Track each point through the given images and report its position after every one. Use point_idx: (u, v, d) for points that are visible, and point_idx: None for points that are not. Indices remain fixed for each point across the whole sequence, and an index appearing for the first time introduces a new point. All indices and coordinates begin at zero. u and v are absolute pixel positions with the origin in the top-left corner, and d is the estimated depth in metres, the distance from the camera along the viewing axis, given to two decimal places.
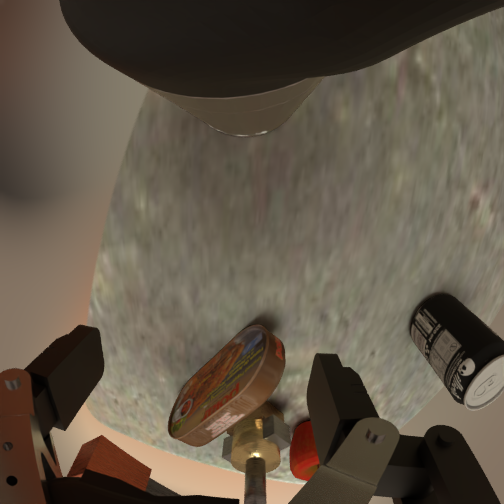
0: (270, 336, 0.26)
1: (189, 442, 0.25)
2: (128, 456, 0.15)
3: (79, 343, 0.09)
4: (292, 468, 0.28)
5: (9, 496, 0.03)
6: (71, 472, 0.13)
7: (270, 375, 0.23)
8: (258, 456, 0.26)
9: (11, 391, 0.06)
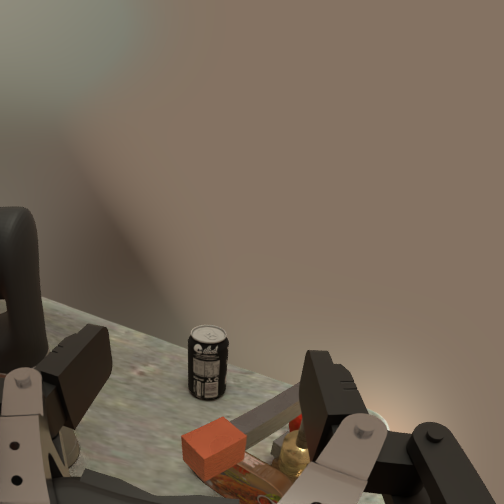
0: None
1: (278, 479, 0.26)
2: None
3: (88, 342, 0.09)
4: None
5: (12, 495, 0.03)
6: (199, 458, 0.18)
7: None
8: (294, 442, 0.33)
9: (22, 390, 0.06)
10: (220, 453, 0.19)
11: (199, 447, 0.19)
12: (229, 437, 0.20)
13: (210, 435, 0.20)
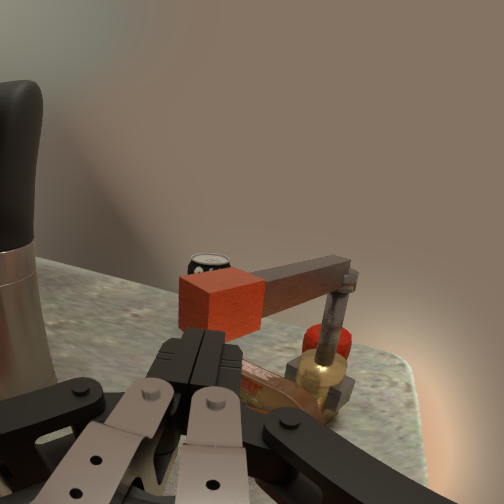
0: None
1: (299, 394, 0.24)
2: None
3: (198, 346, 0.10)
4: None
5: None
6: (202, 298, 0.16)
7: None
8: (313, 360, 0.30)
9: (157, 404, 0.07)
10: (231, 293, 0.16)
11: (202, 284, 0.16)
12: (243, 279, 0.18)
13: (217, 277, 0.18)
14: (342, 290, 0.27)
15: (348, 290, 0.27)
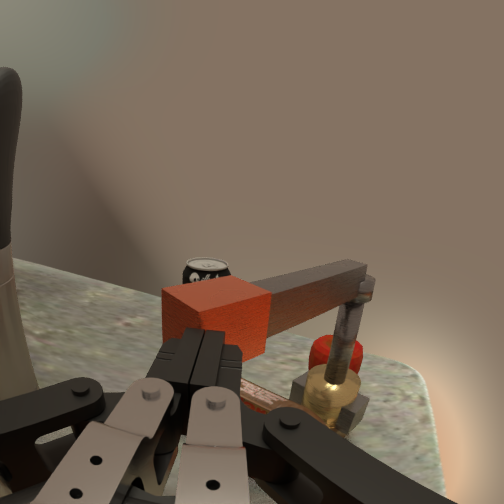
0: None
1: None
2: None
3: (198, 345, 0.10)
4: None
5: None
6: (189, 317, 0.12)
7: None
8: (323, 377, 0.26)
9: (157, 404, 0.07)
10: (228, 310, 0.12)
11: (190, 299, 0.12)
12: (243, 292, 0.14)
13: (210, 289, 0.14)
14: (357, 300, 0.23)
15: (364, 299, 0.23)
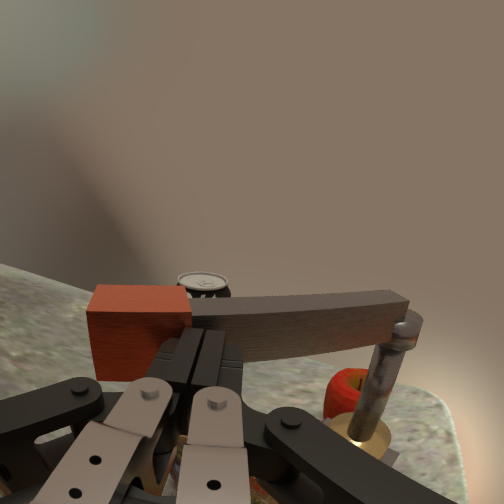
0: None
1: None
2: None
3: (197, 345, 0.10)
4: None
5: None
6: None
7: None
8: (345, 432, 0.19)
9: (156, 403, 0.07)
10: (123, 319, 0.11)
11: (100, 299, 0.11)
12: (161, 304, 0.12)
13: (135, 294, 0.12)
14: (389, 345, 0.16)
15: (399, 347, 0.16)
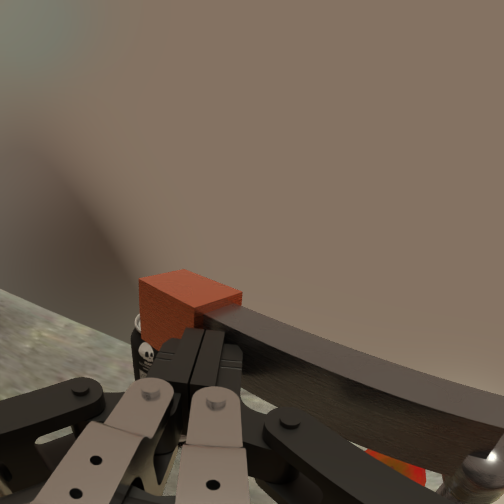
0: None
1: None
2: None
3: (198, 345, 0.10)
4: None
5: None
6: None
7: None
8: None
9: (157, 404, 0.07)
10: (156, 294, 0.13)
11: (163, 276, 0.15)
12: (188, 294, 0.13)
13: (189, 283, 0.14)
14: (448, 482, 0.06)
15: (457, 493, 0.06)
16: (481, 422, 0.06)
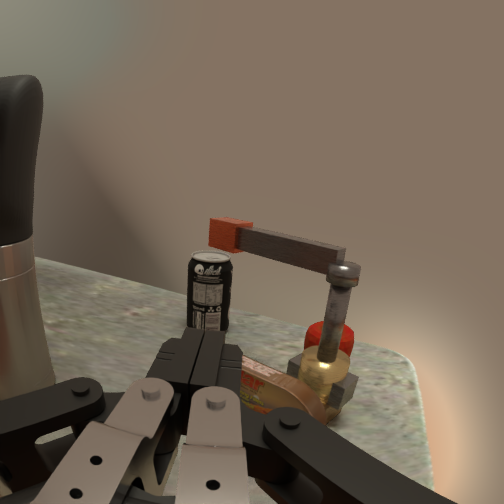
0: None
1: (301, 390, 0.23)
2: None
3: (198, 345, 0.10)
4: None
5: None
6: None
7: None
8: (315, 356, 0.30)
9: (157, 404, 0.07)
10: (218, 222, 0.35)
11: (219, 218, 0.36)
12: (232, 221, 0.34)
13: (231, 220, 0.36)
14: (326, 278, 0.28)
15: (329, 280, 0.27)
16: (328, 248, 0.27)
